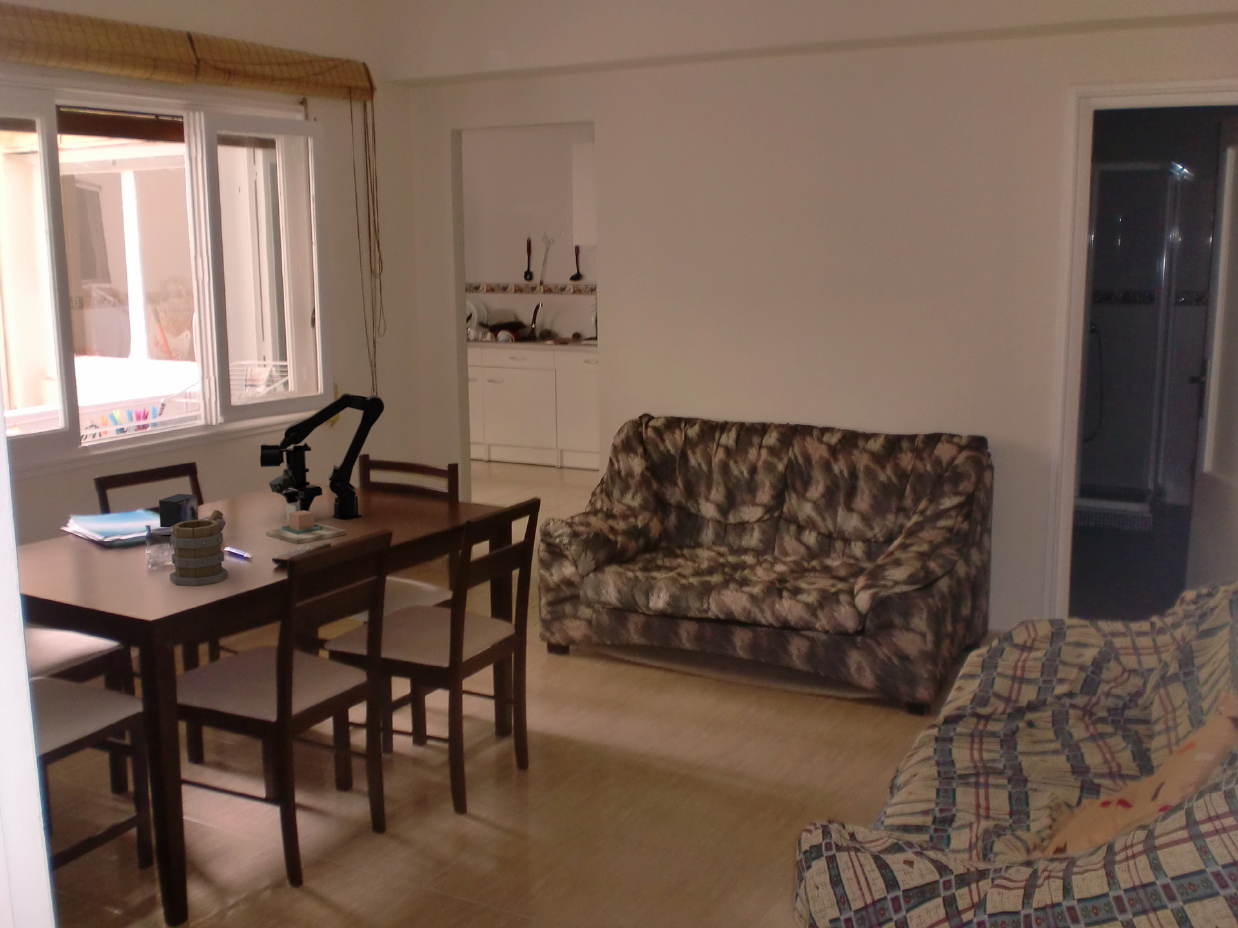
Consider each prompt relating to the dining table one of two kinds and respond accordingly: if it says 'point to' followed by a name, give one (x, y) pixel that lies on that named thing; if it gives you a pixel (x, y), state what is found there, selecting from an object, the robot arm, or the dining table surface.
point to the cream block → (293, 508)
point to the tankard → (198, 552)
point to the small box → (178, 509)
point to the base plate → (305, 533)
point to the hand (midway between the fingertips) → (298, 515)
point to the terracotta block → (301, 520)
